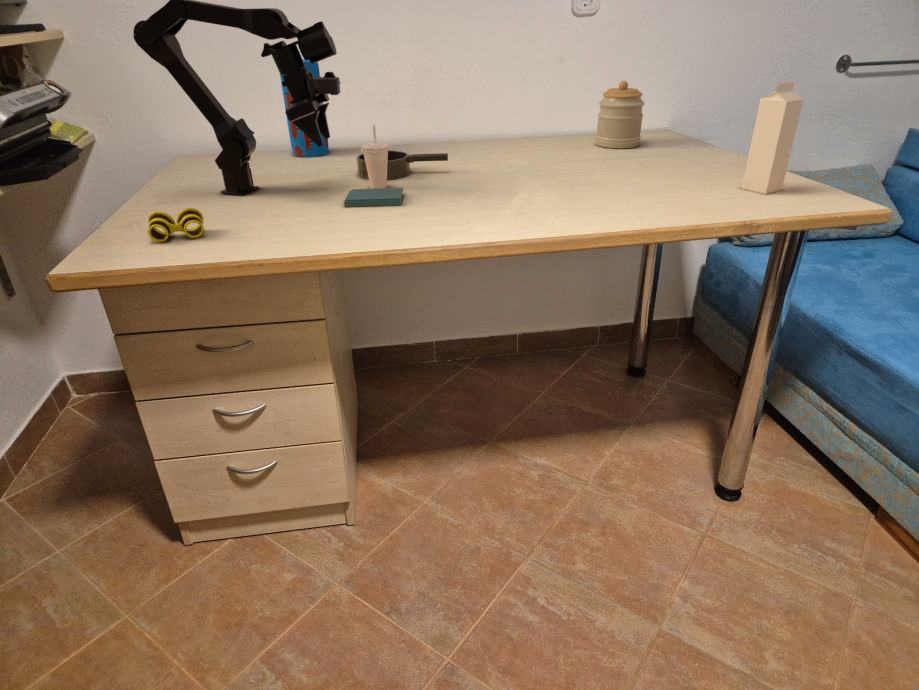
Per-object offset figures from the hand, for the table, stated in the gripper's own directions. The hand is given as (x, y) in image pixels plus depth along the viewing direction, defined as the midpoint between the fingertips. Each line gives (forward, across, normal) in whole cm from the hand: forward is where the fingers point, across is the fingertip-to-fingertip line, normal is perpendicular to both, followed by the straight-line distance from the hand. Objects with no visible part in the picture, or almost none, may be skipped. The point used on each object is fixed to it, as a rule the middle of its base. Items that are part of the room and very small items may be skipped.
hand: (324, 142), depth 137 cm
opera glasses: (+3, -32, +26) cm, 41 cm away
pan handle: (+15, +14, -19) cm, 28 cm away
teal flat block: (+14, -11, -8) cm, 19 cm away
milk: (+41, -11, -90) cm, 99 cm away
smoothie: (+14, 0, -8) cm, 16 cm away
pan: (+14, +14, -8) cm, 21 cm away
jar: (+35, +42, -72) cm, 90 cm away
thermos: (+6, +42, +15) cm, 45 cm away
